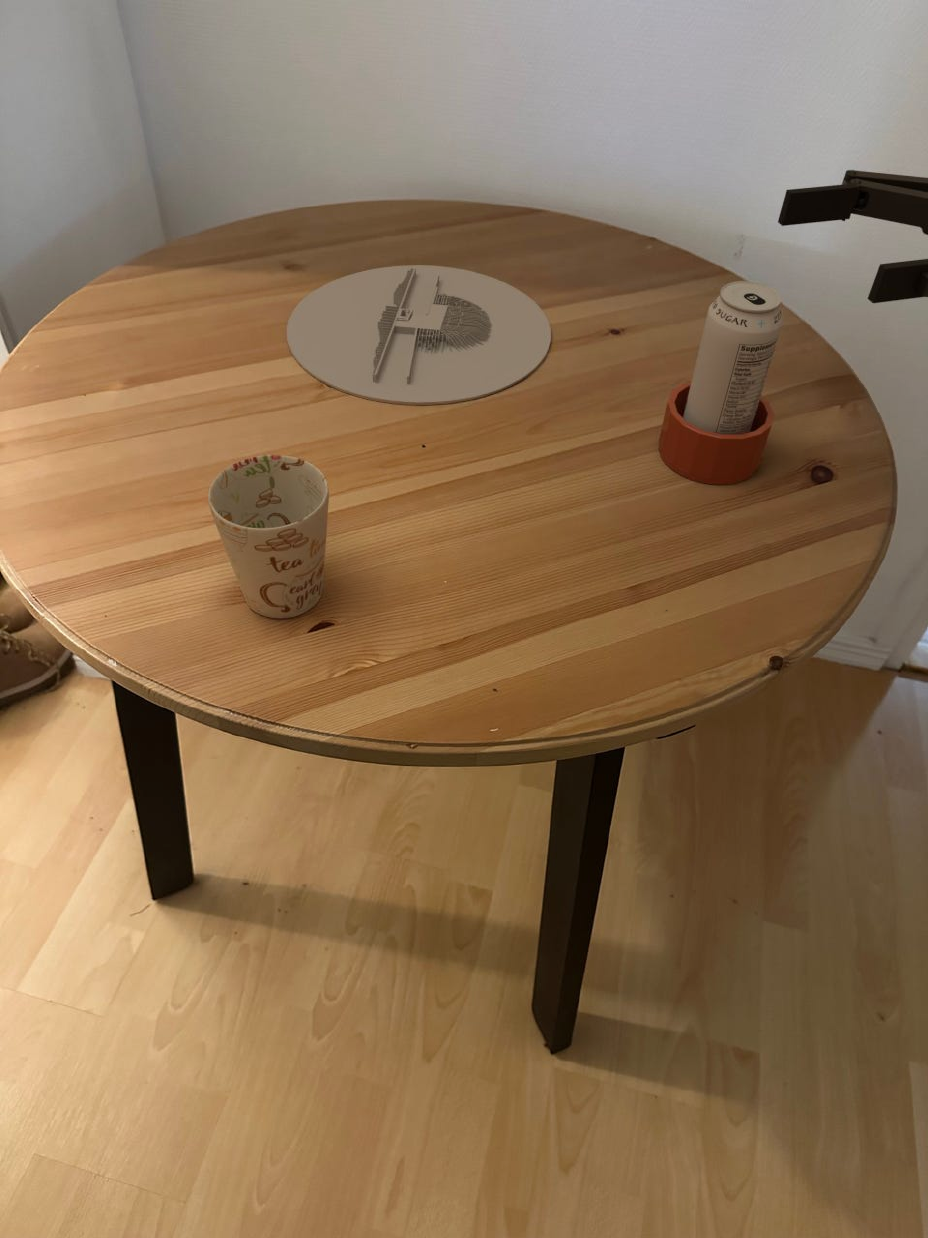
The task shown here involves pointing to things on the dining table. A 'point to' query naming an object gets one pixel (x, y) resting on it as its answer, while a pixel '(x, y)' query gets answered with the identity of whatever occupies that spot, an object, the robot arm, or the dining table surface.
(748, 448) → the holder
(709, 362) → the energy drink can
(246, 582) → the mug
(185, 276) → the dining table surface
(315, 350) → the plate
